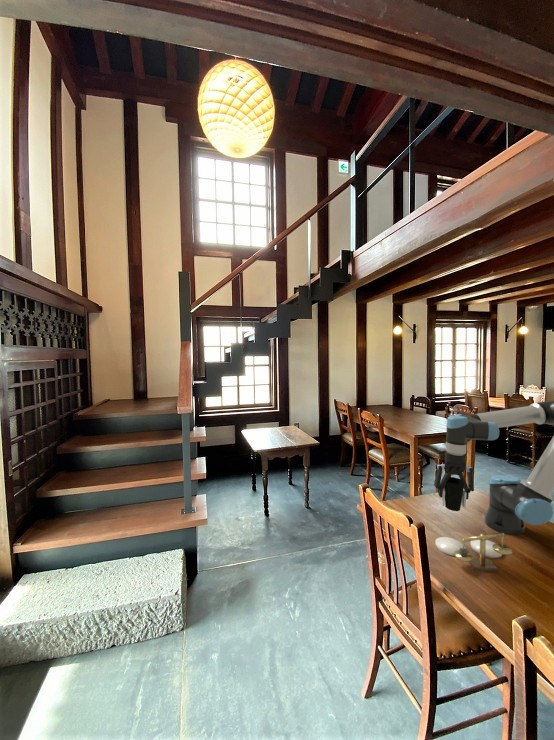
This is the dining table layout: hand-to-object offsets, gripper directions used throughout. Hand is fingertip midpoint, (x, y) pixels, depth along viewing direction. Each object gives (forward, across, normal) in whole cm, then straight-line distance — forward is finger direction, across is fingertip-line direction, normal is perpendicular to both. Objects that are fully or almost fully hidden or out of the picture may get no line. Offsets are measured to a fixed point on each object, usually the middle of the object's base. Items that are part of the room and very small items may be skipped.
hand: (452, 505), depth 134 cm
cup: (+1, 0, 0) cm, 1 cm away
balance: (+16, -6, +15) cm, 23 cm away
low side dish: (+16, +2, +4) cm, 17 cm away
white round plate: (+16, -12, +4) cm, 20 cm away
